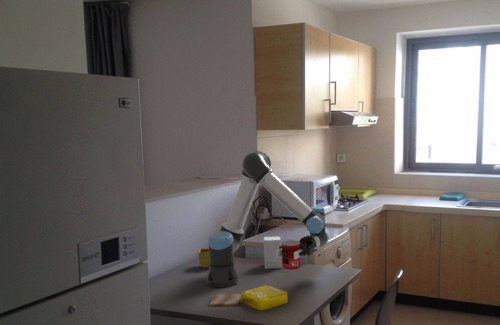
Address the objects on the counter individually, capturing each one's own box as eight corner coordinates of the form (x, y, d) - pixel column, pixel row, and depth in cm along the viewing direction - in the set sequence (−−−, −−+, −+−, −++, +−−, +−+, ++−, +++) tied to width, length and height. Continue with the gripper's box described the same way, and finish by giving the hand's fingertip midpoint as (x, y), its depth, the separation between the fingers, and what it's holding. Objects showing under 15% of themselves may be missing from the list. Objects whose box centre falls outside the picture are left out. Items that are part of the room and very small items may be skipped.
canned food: (303, 265, 210) (302, 240, 210) (296, 270, 203) (295, 244, 203) (287, 264, 214) (286, 239, 213) (279, 268, 207) (278, 243, 206)
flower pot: (215, 268, 253) (214, 252, 252) (198, 269, 253) (197, 252, 253) (216, 264, 262) (216, 248, 261) (200, 264, 262) (200, 248, 261)
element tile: (289, 302, 199) (289, 291, 198) (261, 311, 190) (260, 300, 190) (267, 294, 211) (267, 283, 211) (239, 302, 202) (239, 290, 202)
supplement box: (282, 268, 249) (280, 239, 248) (264, 269, 249) (263, 240, 248) (281, 263, 258) (280, 236, 257) (264, 264, 258) (263, 236, 257)
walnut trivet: (209, 305, 198) (209, 304, 198) (213, 296, 210) (213, 294, 210) (238, 305, 197) (238, 303, 197) (241, 295, 209) (241, 294, 209)
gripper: (329, 253, 218) (308, 266, 199) (289, 249, 229) (265, 261, 210) (329, 237, 218) (307, 248, 199) (289, 233, 229) (264, 244, 210)
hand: (285, 254), depth 204 cm, fingers closed on canned food, 8 cm apart
